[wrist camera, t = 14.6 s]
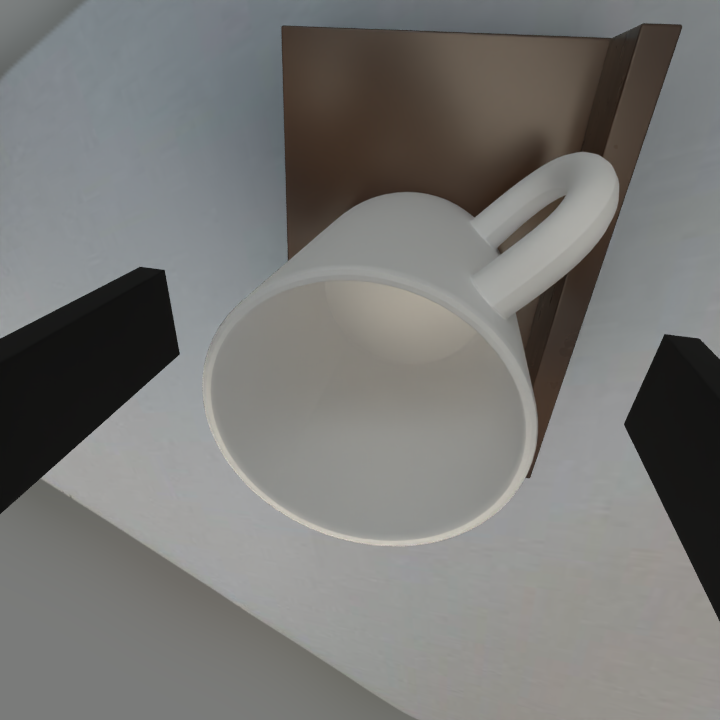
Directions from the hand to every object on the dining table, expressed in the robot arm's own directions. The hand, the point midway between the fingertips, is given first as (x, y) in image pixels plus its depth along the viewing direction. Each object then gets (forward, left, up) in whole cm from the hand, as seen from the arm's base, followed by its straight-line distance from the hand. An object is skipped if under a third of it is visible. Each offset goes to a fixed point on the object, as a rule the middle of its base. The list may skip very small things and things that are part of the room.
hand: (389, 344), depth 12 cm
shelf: (0, 0, -13) cm, 13 cm away
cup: (0, +1, -8) cm, 8 cm away
